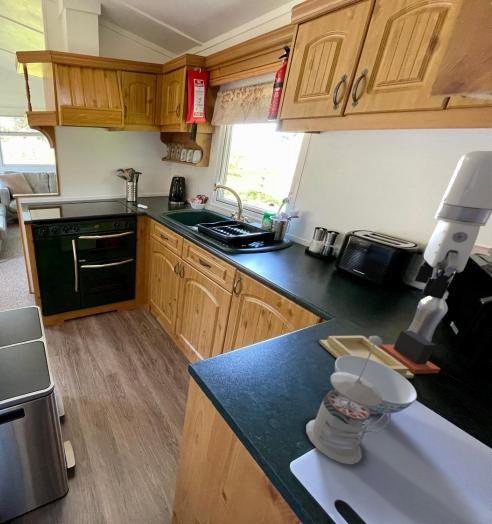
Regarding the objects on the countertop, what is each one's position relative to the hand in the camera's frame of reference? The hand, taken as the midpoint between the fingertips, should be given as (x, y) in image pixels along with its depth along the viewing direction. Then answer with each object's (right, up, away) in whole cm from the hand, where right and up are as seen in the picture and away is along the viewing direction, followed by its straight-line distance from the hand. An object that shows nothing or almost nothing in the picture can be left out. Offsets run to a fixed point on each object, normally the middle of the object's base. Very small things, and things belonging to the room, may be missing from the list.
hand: (426, 289), depth 66 cm
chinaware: (-13, -28, +3) cm, 30 cm away
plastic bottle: (+22, -21, +26) cm, 40 cm away
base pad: (-1, -22, +18) cm, 29 cm away
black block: (+13, -23, +19) cm, 33 cm away
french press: (-25, -30, -7) cm, 40 cm away
